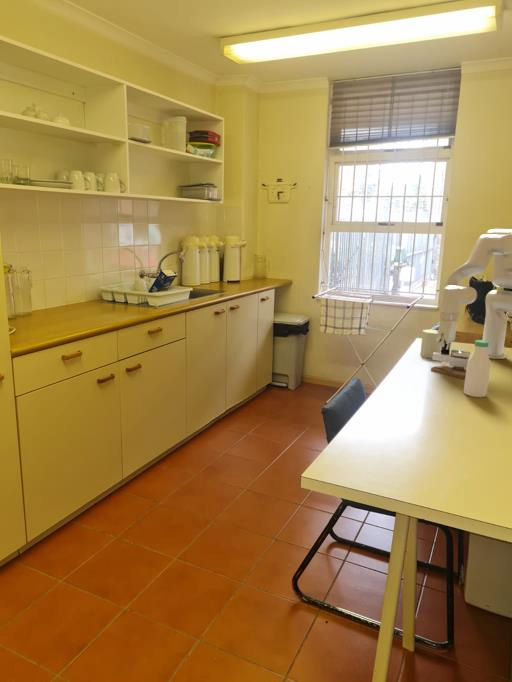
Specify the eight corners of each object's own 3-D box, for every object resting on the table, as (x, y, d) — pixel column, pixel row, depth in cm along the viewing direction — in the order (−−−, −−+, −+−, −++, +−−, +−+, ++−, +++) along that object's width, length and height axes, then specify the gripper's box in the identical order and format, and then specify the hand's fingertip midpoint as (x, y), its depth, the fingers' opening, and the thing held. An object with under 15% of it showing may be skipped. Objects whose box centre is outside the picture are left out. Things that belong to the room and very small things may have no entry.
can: (443, 357, 237) (446, 332, 234) (423, 357, 237) (426, 332, 234) (436, 352, 246) (439, 328, 243) (417, 352, 246) (420, 328, 243)
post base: (450, 364, 225) (452, 349, 223) (485, 373, 213) (488, 357, 212) (430, 370, 215) (432, 354, 213) (466, 379, 203) (468, 363, 201)
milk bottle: (488, 398, 181) (496, 344, 176) (465, 396, 182) (472, 342, 178) (483, 392, 188) (490, 339, 184) (461, 390, 190) (468, 338, 185)
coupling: (433, 359, 221) (434, 345, 220) (469, 363, 215) (470, 350, 214) (431, 362, 215) (432, 349, 213) (467, 367, 209) (469, 354, 207)
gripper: (446, 313, 222) (441, 353, 227) (434, 317, 211) (429, 359, 215) (464, 315, 218) (459, 356, 222) (452, 319, 206) (447, 363, 211)
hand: (444, 358), depth 219 cm, fingers closed
